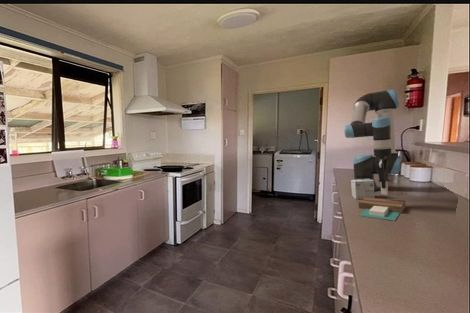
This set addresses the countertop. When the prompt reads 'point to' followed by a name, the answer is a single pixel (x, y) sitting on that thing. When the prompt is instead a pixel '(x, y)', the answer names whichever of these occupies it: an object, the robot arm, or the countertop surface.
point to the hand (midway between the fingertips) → (384, 193)
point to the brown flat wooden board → (383, 204)
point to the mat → (389, 216)
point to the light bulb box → (362, 188)
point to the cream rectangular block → (378, 211)
